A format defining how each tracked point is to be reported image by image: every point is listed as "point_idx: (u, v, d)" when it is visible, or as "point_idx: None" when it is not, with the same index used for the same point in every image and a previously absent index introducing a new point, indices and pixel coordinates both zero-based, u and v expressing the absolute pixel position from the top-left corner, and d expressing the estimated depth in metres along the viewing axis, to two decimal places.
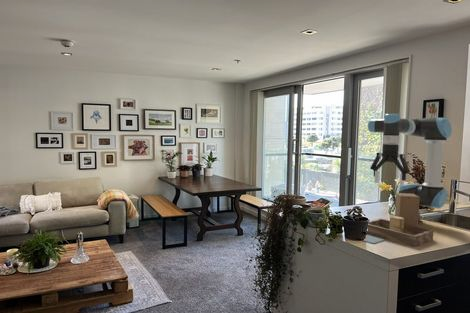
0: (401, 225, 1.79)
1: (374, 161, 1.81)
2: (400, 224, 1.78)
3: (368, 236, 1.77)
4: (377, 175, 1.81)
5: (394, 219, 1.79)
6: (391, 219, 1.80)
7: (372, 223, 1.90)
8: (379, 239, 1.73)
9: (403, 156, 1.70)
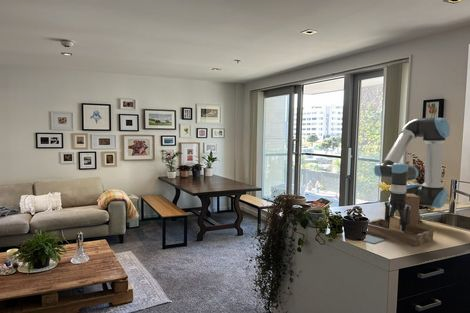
0: None
1: (385, 211, 1.84)
2: (400, 224, 1.78)
3: (368, 236, 1.77)
4: None
5: (394, 219, 1.79)
6: (391, 219, 1.80)
7: (372, 223, 1.90)
8: (379, 239, 1.73)
9: (409, 208, 1.75)
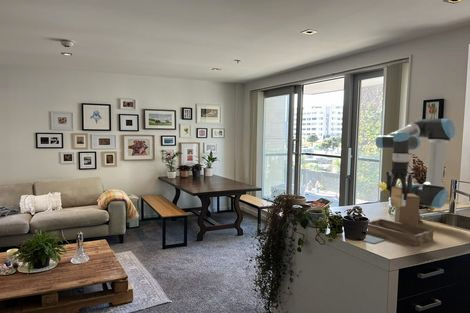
0: None
1: (387, 181, 1.83)
2: (402, 193, 1.77)
3: (368, 236, 1.77)
4: None
5: (396, 188, 1.78)
6: (393, 188, 1.79)
7: (372, 223, 1.90)
8: (379, 239, 1.73)
9: (411, 177, 1.74)
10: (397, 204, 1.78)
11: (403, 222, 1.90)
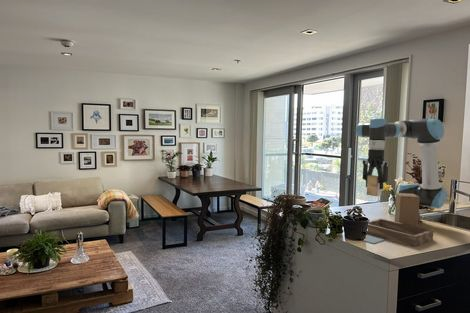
0: None
1: (363, 170, 1.75)
2: (378, 182, 1.69)
3: (368, 236, 1.77)
4: None
5: (372, 177, 1.70)
6: (369, 177, 1.72)
7: (372, 223, 1.90)
8: (379, 239, 1.73)
9: (387, 165, 1.66)
10: (373, 193, 1.70)
11: (403, 222, 1.90)
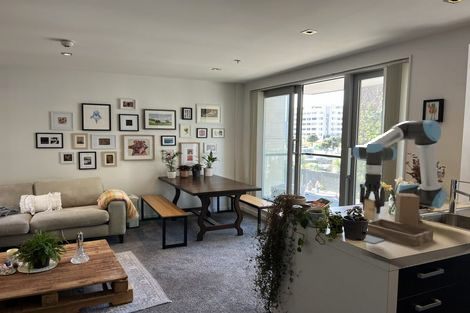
0: None
1: (360, 193, 1.76)
2: (375, 206, 1.70)
3: (368, 236, 1.77)
4: None
5: (369, 201, 1.71)
6: (366, 201, 1.72)
7: (372, 223, 1.90)
8: (379, 239, 1.73)
9: (384, 190, 1.67)
10: (370, 218, 1.70)
11: (403, 222, 1.90)
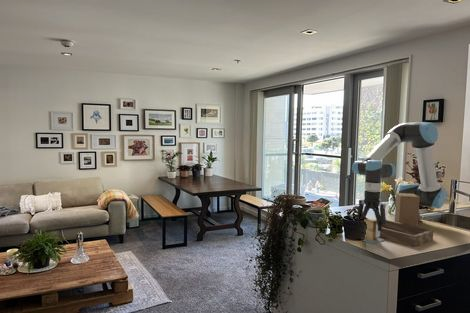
0: (375, 227, 1.72)
1: (359, 209, 1.77)
2: (374, 226, 1.71)
3: None
4: None
5: (368, 221, 1.71)
6: (365, 221, 1.73)
7: None
8: (379, 239, 1.73)
9: (384, 207, 1.67)
10: (369, 238, 1.71)
11: (403, 222, 1.90)
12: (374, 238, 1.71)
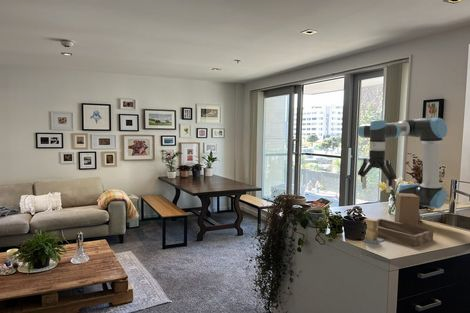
0: (375, 227, 1.72)
1: (361, 167, 1.82)
2: (374, 226, 1.71)
3: None
4: (364, 181, 1.82)
5: (368, 221, 1.71)
6: (365, 221, 1.73)
7: None
8: (379, 239, 1.73)
9: (389, 162, 1.71)
10: (369, 238, 1.71)
11: (403, 222, 1.90)
12: (374, 238, 1.71)
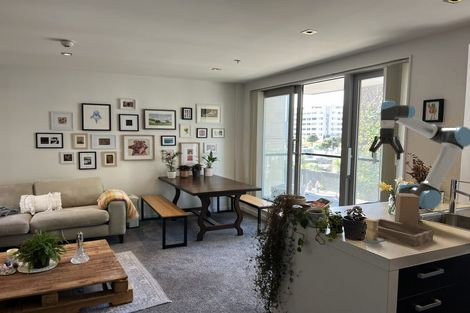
0: (375, 227, 1.72)
1: (372, 144, 2.02)
2: (374, 226, 1.71)
3: None
4: (375, 156, 2.02)
5: (368, 221, 1.71)
6: (365, 221, 1.73)
7: None
8: (379, 239, 1.73)
9: (398, 138, 1.91)
10: (369, 238, 1.71)
11: (403, 222, 1.90)
12: (374, 238, 1.71)
